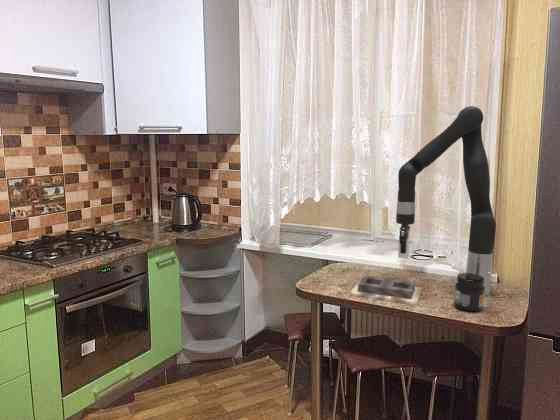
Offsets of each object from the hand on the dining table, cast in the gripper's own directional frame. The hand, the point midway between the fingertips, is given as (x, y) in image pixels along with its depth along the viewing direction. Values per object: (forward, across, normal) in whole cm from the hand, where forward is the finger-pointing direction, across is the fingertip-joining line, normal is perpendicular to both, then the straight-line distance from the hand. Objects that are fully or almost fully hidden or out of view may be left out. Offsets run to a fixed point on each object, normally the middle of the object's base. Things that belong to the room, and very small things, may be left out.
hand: (403, 251), depth 204 cm
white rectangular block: (+2, 0, 0) cm, 2 cm away
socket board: (+14, -14, +4) cm, 20 cm away
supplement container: (+15, -17, -27) cm, 35 cm away
